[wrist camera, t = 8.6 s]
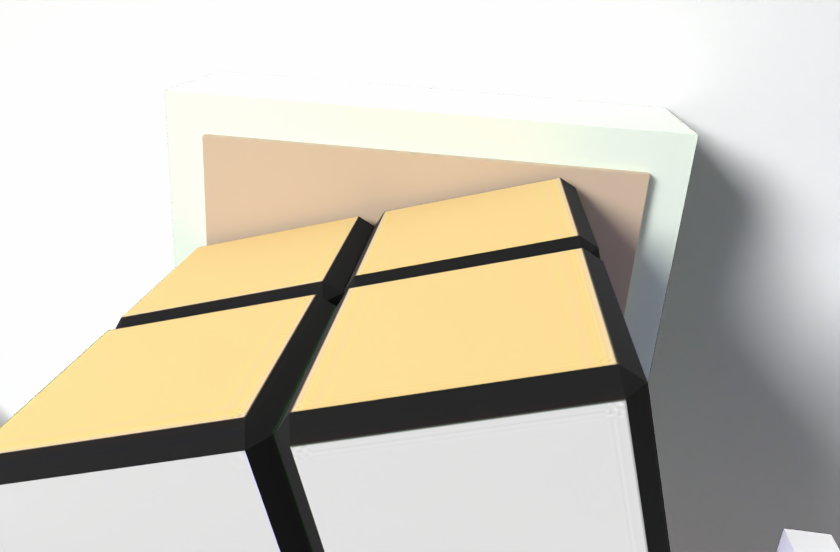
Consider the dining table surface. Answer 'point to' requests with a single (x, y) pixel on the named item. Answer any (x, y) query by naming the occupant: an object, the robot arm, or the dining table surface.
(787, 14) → the dining table surface
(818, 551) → the robot arm
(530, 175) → the plinth
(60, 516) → the puzzle cube
